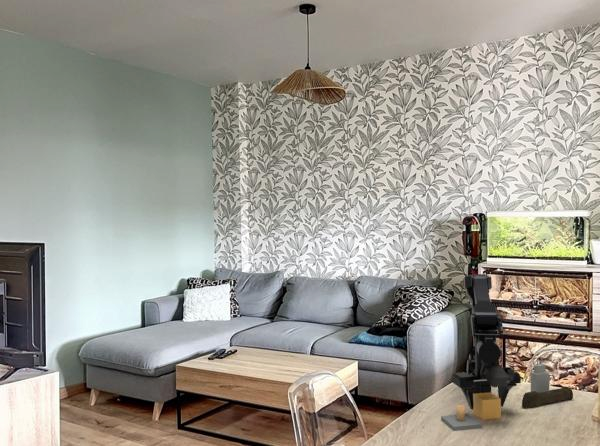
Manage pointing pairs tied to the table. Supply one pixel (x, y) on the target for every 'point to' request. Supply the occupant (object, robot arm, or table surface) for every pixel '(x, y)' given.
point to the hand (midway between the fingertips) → (486, 407)
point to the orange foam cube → (487, 406)
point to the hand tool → (546, 397)
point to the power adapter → (539, 378)
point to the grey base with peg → (461, 420)
